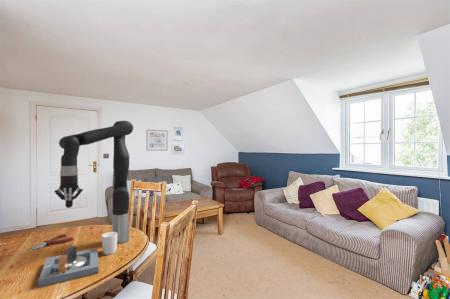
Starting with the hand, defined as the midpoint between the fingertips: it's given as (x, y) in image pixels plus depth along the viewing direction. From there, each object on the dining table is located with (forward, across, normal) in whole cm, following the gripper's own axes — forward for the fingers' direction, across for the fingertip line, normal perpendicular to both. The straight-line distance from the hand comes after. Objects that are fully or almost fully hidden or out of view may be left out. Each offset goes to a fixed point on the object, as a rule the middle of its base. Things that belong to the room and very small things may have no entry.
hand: (69, 207), depth 119 cm
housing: (+27, -5, +11) cm, 30 cm away
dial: (+26, -5, +13) cm, 30 cm away
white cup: (+27, -19, -3) cm, 33 cm away
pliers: (+28, +18, -25) cm, 42 cm away
